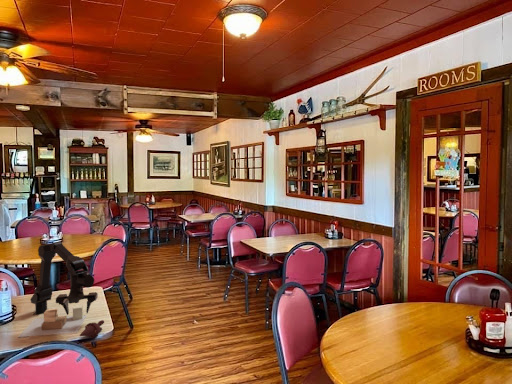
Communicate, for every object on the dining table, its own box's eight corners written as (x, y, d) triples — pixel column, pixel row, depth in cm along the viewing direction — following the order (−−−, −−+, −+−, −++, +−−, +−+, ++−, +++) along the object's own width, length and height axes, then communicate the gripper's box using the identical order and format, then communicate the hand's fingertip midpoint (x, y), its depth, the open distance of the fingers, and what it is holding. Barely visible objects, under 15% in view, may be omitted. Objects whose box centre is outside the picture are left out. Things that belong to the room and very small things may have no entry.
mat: (34, 319, 202) (34, 318, 202) (87, 315, 207) (87, 314, 207) (18, 337, 180) (18, 336, 180) (77, 333, 186) (77, 332, 186)
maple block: (47, 318, 194) (46, 309, 194) (57, 318, 195) (57, 308, 195) (43, 322, 189) (43, 313, 189) (54, 322, 190) (54, 312, 190)
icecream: (88, 331, 173) (110, 321, 187) (75, 325, 175) (98, 315, 190) (84, 345, 174) (107, 334, 188) (72, 339, 176) (95, 328, 190)
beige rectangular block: (73, 316, 205) (73, 305, 204) (82, 315, 206) (82, 304, 206) (73, 319, 201) (72, 308, 200) (82, 318, 202) (82, 307, 202)
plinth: (47, 323, 196) (47, 317, 196) (66, 322, 198) (66, 316, 198) (41, 331, 188) (41, 324, 187) (61, 329, 189) (61, 323, 189)
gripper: (51, 290, 184) (52, 321, 185) (93, 287, 188) (93, 318, 189) (58, 283, 195) (59, 313, 196) (97, 281, 199) (98, 310, 200)
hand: (77, 314), depth 195 cm, fingers open, 9 cm apart
